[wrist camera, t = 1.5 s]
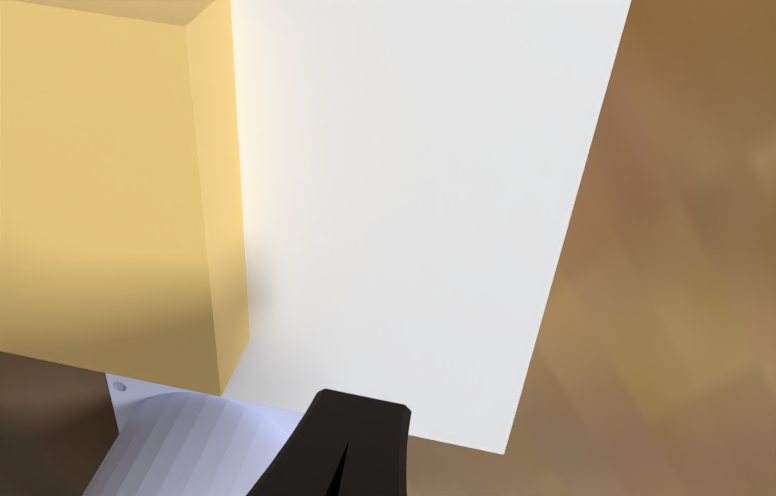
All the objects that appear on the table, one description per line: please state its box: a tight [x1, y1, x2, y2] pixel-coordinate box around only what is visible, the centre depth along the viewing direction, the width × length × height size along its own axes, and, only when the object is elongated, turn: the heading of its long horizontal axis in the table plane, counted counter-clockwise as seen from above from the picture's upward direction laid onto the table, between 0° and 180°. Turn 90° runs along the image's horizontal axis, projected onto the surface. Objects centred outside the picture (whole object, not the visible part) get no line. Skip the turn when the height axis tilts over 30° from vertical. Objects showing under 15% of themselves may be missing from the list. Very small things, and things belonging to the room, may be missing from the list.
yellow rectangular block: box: [0, 0, 250, 397], centre depth 16 cm, size 9×6×2 cm, turn 175°
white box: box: [222, 0, 631, 454], centre depth 18 cm, size 14×22×4 cm, turn 85°
